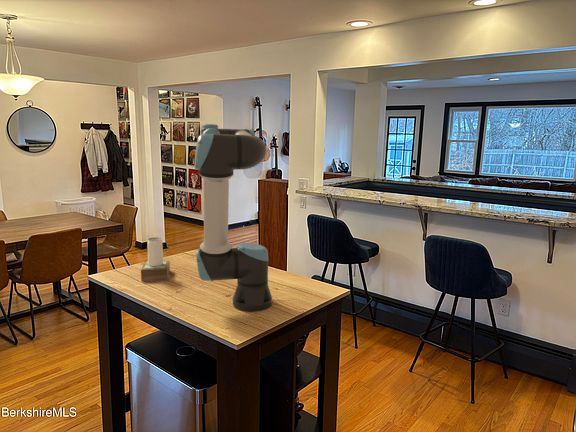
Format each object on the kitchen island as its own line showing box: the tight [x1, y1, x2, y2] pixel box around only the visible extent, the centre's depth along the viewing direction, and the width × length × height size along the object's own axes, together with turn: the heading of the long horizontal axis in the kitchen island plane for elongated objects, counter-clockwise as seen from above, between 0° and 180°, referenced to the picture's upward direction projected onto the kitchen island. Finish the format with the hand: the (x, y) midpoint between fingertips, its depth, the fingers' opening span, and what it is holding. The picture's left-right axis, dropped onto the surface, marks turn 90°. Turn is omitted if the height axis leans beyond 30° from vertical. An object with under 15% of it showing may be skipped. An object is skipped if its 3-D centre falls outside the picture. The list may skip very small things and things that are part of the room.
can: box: [146, 236, 164, 266], centre depth 188 cm, size 6×6×12 cm
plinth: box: [140, 260, 171, 282], centre depth 189 cm, size 13×11×5 cm
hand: (210, 206), depth 190 cm, fingers open, 13 cm apart
